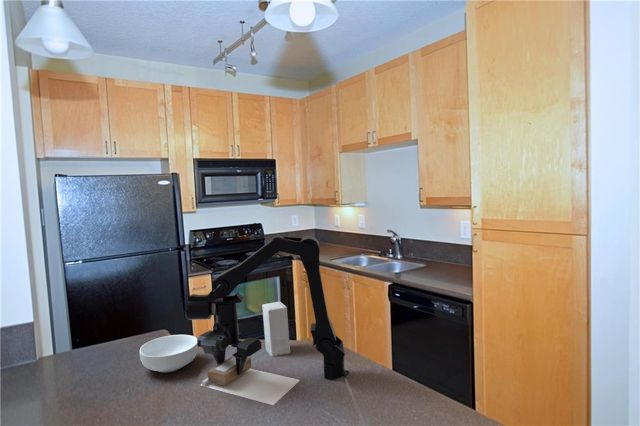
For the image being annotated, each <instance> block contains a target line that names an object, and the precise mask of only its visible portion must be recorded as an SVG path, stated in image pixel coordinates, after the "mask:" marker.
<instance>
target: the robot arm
mask: <svg viewBox="0 0 640 426" xmlns="http://www.w3.org/2000/svg"><path fill="white" fill-rule="evenodd" d="M279 252H281V253H286V254H290V255H294V256H299V258H300V261H301V264H302V265H303V267H304V269H305V271H306V277H307V281H308V286H309V292H310V298H311V304H312V309H313V315H314V320H315V322H314V323H310V333H311V336H312V346H313V347H314V346H315V349H316V350H317V352H319V353H320V354H321V355H322V356H323V377H324V380H329V381H334V380H336V379H340V378H343V379H346V377H347V376H348V375H349V374H350V371H349V370H346V369H345V353H346V352H345V347H344V341H343V340H342V339H341V338H340V337H338V335H337V334H336V331H335V329H334V325H333V323H332V320H331V319H330V316H329V314H328V307H327V302H326V298H325V292H324V286H323V281H322V280H323V279H322V275H321V270H320V242H319V240H318V239H317V238H316V237H315V236H313V235H306V236H304V237H298V236H297V237H295V236H283V235H280V234H278V235H276V236H275V235H274V236H273V238H272V239H271V240H270V241H268V242H267V243H266V244H264V245H263V246H261V248H259V249H258V250H257V251H255V252H254V253H253V254H251V255H250V256H249V257H247V258H246V259H245V260H243V261H242V262H240V263H239V264H237V265H234V266H232V267H231V268H228V269H226V270H224V271H222V272H221V273H220V274H219V275H217V276H216V277H215V279H213V281H212V284H211V285H212V286H211V288H212V289H211V291H210V292H209V293H208V294H191V295H189V296H188V301H187V307H186V311H185V312H186V317H187V319H188V320H189V321H193V320H194V321H197V320H211V318H212V316H216V322H214V323H213V326H212V330H207V331H206V332H204V333H202V334H200V335H198V337H197V346H198V348H202V350H203V352H204V354H205V355H207V354H209V355H212V356H213V358H214V360H215V363H216V366H217V365H219V364H220V363H222V362H223V361H225V360H226V349H227V348H228V347H230V348H231V347H233V348H236V352H235V353H233V354H232V356H234V357H235V358H236V368H237V374H238V375H240V374H241V372H242V370H243V367H244V364H245V362H246V359H247V357H248V358H249V357H251V356H252V355H254V354H256V353H257V352H258V351H261V349H262V348H263V347H262V341H261V339H259V338H254V337H250V336H249V337H246V338H245V339H244V340H240V338H242V337H243V334H242V333H241V332H239V324H241V323H242V319H241V318H239V317H238V304H239V303H240V304H241V303H242V302H243V301H244V299H245V296H243V295H242V294H240V293H239V292H238V291H237V292H236V293H235V294H231V293H232V292H233V291H234V290H235V289H236V288H237V287H238V286H239V284H241V283H242V281H243V280H245V278H247V276H248V275H250V274H251V273H253V271H255V270H257V268H259V267H260V266H262V265H263V264H264V263H266V262H267V261H268V260H270V259H271V258H272V257H273V256H275V255H276V254H278V253H279ZM230 294H231V295H230ZM220 297H221V298H220ZM215 314H216V315H215Z"/></svg>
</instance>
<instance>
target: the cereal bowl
mask: <svg viewBox="0 0 640 426" xmlns="http://www.w3.org/2000/svg"><path fill="white" fill-rule="evenodd" d="M197 339H198V337H196V336H194V335H190V334H172V335H171V334H170V335H165V336H161V337H157V338H154V339H151V340H150V341H147V342H145V343H144V344H143V345H141V346H140V349H139V359H140V362H141V364H142V365H143V366H144V367H145V368H146V369H148V370H151V371H155V372H158V373H159V372H160V373H171V372H176V371H177V370H180V369H181V368H184V367H185V366H186V365H189V363H191V362H192V361H193V360H194V359H195V358H196V356H197V354H198V351H199V346H197Z"/></svg>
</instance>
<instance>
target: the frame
mask: <svg viewBox="0 0 640 426" xmlns="http://www.w3.org/2000/svg"><path fill="white" fill-rule="evenodd" d="M251 359H252V358H251V357H249V356H248V357H247V359H246V362H245V364H244V367H243V370H242V372H241V374H243V373H244V372H246V371H247V370H248V369H252V360H251ZM241 374H240V375H241ZM240 375H238V374H237V368H236V358H235V357H234V356H233V355H232V356H230V357H228V358H227V359H225V361H223V362H222V363H220V364H219V365H217V364H216V365H215V366H213V367H212V368H211V369H209V370H208V371H207V378H208V381H209V382H213V383H217V384H220V385H224V386H226V385H227V384H229V383H230V382H231V381H233V380H234V379H236V378H237V377H239V376H240Z"/></svg>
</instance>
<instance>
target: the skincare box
mask: <svg viewBox="0 0 640 426" xmlns="http://www.w3.org/2000/svg"><path fill="white" fill-rule="evenodd" d="M261 308H262V318H263V331H264V332H263V333H264V343H265V344H264V345H265V350H266V352H267V354H268V355H269V356H270V357H277V356H281V355H286V354H287V355H288V354H291V348H290V347H291V343H290V335H289V334H290V333H289V331H290V330H289V318H288V307H287V306H286V305H285V304H284V303H282V302H281V301H274V302H269V303H264V304H262V307H261Z"/></svg>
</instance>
